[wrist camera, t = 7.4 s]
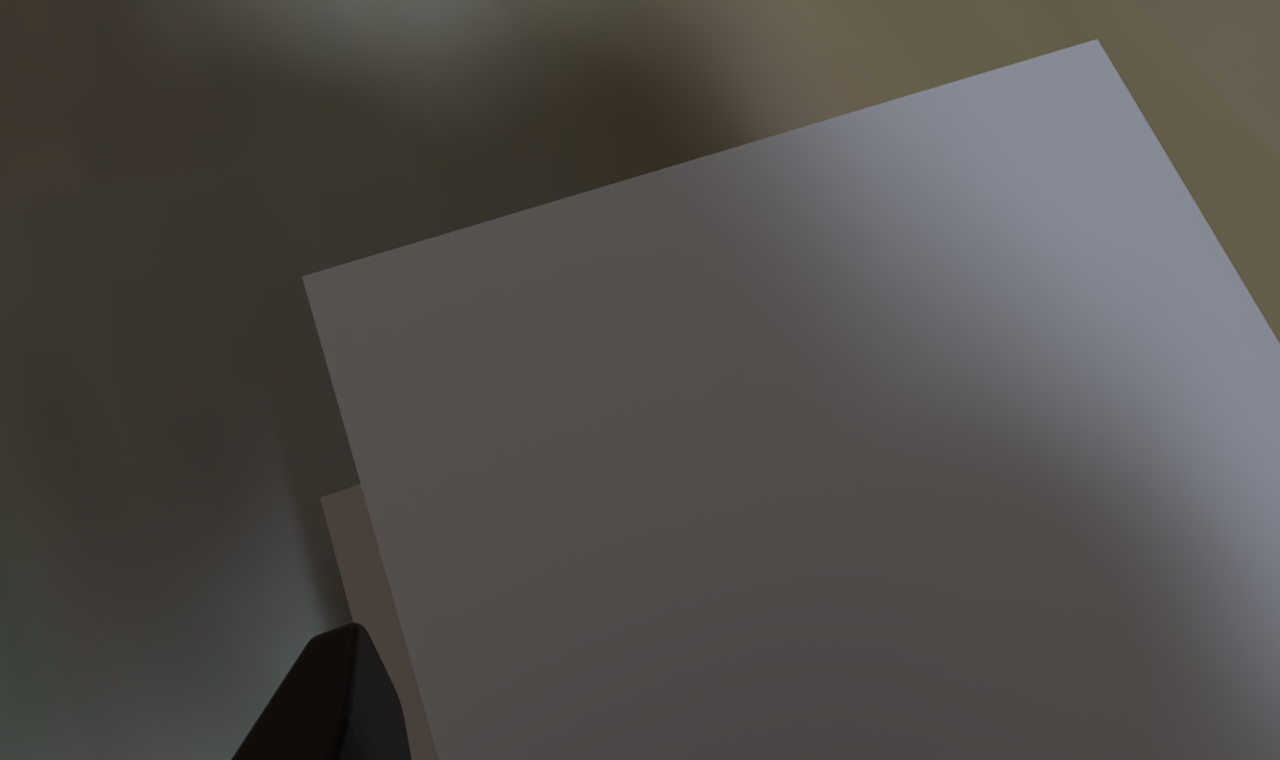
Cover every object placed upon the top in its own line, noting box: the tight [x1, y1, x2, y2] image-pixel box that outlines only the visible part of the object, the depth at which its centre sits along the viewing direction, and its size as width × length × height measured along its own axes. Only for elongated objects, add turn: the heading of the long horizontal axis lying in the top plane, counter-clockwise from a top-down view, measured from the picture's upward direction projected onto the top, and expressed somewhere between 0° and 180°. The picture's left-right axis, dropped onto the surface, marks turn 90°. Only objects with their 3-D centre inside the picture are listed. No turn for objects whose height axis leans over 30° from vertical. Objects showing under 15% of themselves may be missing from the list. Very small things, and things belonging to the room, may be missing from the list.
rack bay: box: [320, 484, 439, 760], centre depth 14 cm, size 9×8×4 cm
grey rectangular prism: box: [302, 39, 1280, 760], centre depth 10 cm, size 5×4×13 cm
